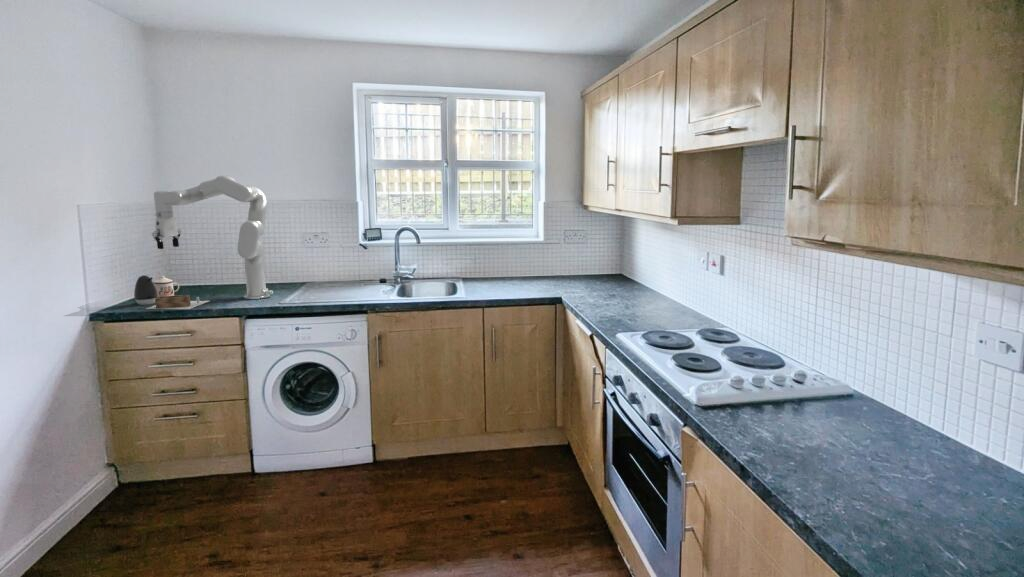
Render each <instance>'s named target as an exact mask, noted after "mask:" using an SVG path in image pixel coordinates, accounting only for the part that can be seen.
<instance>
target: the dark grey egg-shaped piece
mask: <svg viewBox="0 0 1024 577" xmlns="http://www.w3.org/2000/svg"><path fill="white" fill-rule="evenodd" d="M133 293H134V294H133V295H134V296H133V298H134V300H135V302H136V304H138V305H141V306H144V305H145V306H147V305H153V304H156V303H155V299H156V298H157V297H158V293H157V290H156V287H155V285H154V281H153V277H150V276H148V275H145V274H144V275H141V276H139V277H138V278H137V280H136V282H135V287H134V291H133Z"/></svg>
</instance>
